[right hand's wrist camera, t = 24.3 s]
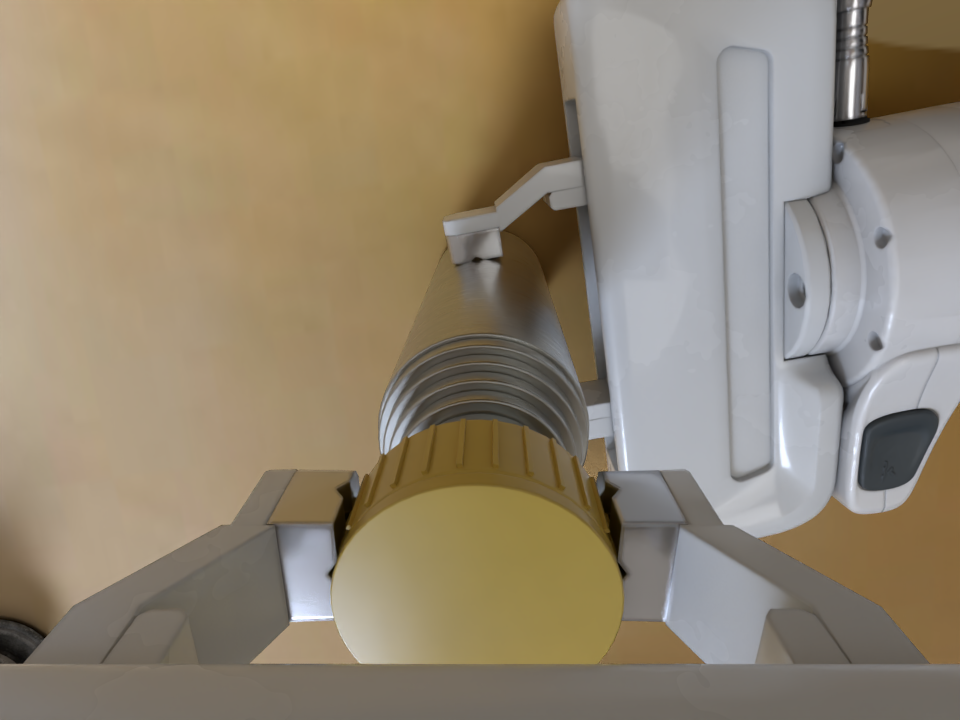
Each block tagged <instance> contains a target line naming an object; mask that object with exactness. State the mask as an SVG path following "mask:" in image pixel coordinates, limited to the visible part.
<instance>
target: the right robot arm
mask: <svg viewBox="0 0 960 720" xmlns="http://www.w3.org/2000/svg"><path fill="white" fill-rule="evenodd" d="M596 485H597V488H598V492H599V495H600V499H601V502H602V505H603V509H604V512H605V513H606V514H608V517H609V520H610V521H609V529H610V532H609V533H610V536H611V539H612V542H613V545H614V548H615V551H616V554H617V557H616V558H617V562H618V566H619V569H620V573H621V576H622V580H623V587H624V611H623V616H622V620H621V621H655V622H666V625H667V626H668V627H669V628H670V629H671V630H672V631H673V632H674V633H675V634H676V635H677V636H678V637H679V638H680V639H681V640H682V641H683V642H684V643H685V644H686V645H687V646H688V647H689V648H690V649H691V650H692V651H693V652H694V653H695V654H696V655H697V656H698V657H700V658H701V659H702V660H703V661H704V662H705V663H706V664H249V663H250V662H251V661H252V660H253V659H254V658H256V657H257V656H258V655H259V654H260V653H261V652H262V651H263V650H264V649H265V648H266V647H267V646H268V645H269V644H270V643H271V642H272V641H273V640H274V639H275V638H276V637H277V636H278V635H279V634H280V633H281V632H282V631H283V630H285V629H286V628H287V627H288V626H289V622H300V621H334V618H333V613H332V607H331V593H330V588H331V581H332V575H333V571H334V568H335V565H336V562H337V559H338V556H339V550H340V547H341V544H342V541H343V538H344V535H345V532H346V522H347V519H348V516H349V513H350V512H351V511H352V509H353V506H354V503H355V501H356V498H357V495H358V492H359V489H360V486H359V478H358V474H357V472H356V471H339V470H297V469H283V470H269V471H266V472H265V473H264V474H263V476H262V477H261V479H260V480H259V482H258V484H257V485H256V487H255V488H254V490H253V491H252V493H251V494H250V496H249V497H248V499H247V501H246V502H245V504H244V505H243V507H242V508H241V510H240V511H239V513H238V514H237V516H236V517H235V519H234V521H233V522H232V524H231V525H221V526H219V527H217V528H215V529H213V530H212V531H210V532H208V533H206V534H204V535H202V536H201V537H199V538H197V539H195V540H193V541H191V542H190V543H188V544H186V545H184V546H182V547H180V548H179V549H177V550H175V551H173V552H171V553H169V554H168V555H166V556H164V557H162V558H160V559H158V560H157V561H155V562H153V563H151V564H149V565H147V566H146V567H144V568H142V569H140V570H138V571H136V572H135V573H133V574H131V575H129V576H127V577H125V578H124V579H122V580H120V581H118V582H116V583H114V584H113V585H111V586H109V587H107V588H105V589H103V590H102V591H100V592H98V593H96V594H94V595H92V596H91V597H89V598H87V599H85V600H83V601H81V602H80V603H78V604H76V605H74V606H73V607H72V608H71V609H70V610H69V611H68V612H67V614H66V615H65V616H64V617H63V618H62V619H61V621H60V622H59V623H58V624H57V625H56V626H55V627H54V629H53V630H52V631H51V632H50V633H49V634H48V635H47V637H46V638H45V639H44V640H43V641H42V642H41V643H40V645H39V646H38V647H37V648H36V649H35V650H34V651H33V653H32V654H31V655H30V656H29V657H28V658H27V659H26V661H25V662H24V663H23V664H0V720H960V664H930V663H929V662H928V661H927V660H926V659H925V658H924V656H923V655H922V654H921V653H920V652H919V650H918V649H917V648H916V647H915V646H914V645H913V643H912V642H911V641H910V640H909V639H908V638H907V636H906V635H905V634H904V633H903V632H902V631H901V629H900V628H899V627H898V626H897V625H896V623H895V622H894V621H893V620H892V619H891V618H890V616H889V615H888V614H887V613H886V612H885V611H884V609H883V608H882V607H881V606H879V605H877V604H875V603H873V602H872V601H870V600H868V599H866V598H864V597H862V596H861V595H859V594H857V593H855V592H853V591H852V590H850V589H848V588H846V587H844V586H843V585H841V584H839V583H837V582H835V581H834V580H832V579H830V578H828V577H826V576H824V575H823V574H821V573H819V572H817V571H815V570H814V569H812V568H810V567H808V566H806V565H805V564H803V563H801V562H799V561H797V560H795V559H794V558H792V557H790V556H788V555H786V554H785V553H783V552H781V551H779V550H777V549H776V548H774V547H772V546H770V545H768V544H767V543H765V542H763V541H761V540H759V539H757V538H756V537H754V536H752V535H750V534H748V533H747V532H745V531H743V530H741V529H739V528H738V527H736V526H734V525H724V524H723V523H722V521H721V519H720V518H719V516H718V515H717V513H716V512H715V510H714V509H713V507H712V506H711V504H710V502H709V501H708V499H707V498H706V496H705V495H704V493H703V492H702V490H701V488H700V487H699V485H698V484H697V482H696V481H695V479H694V478H693V476H692V474H691V473H690V471H688V470H686V469H674V470H643V471H603V472H598V477H597V481H596Z"/></svg>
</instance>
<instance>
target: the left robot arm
mask: <svg viewBox="0 0 960 720" xmlns="http://www.w3.org/2000/svg"><path fill="white" fill-rule="evenodd" d="M871 5H872V0H560V2H559V4H558V6H557V7H556V10H555V13H554V30H555V39H556V47H557V55H558V64H559V72H560V80H561V88H562V96H563V105H564V113H565V121H566V129H567V137H568V145H569V154H570V157H569V158H564V159H559V160H554V161H549V162H544V163H540V164H537V165H536V166H534V167H533V168H532V169H531V170H530V171H529V172H528V173H526V174H525V175H524V176H523V177H522V178H521V179H520V180H518V181H517V182H516V183H515V184H514V185H513V186H512V187H511V188H509V189H508V190H507V191H506V192H505V193H504V194H503V195H501V196H500V197H499V198H498V199H497V200H496V201H495V202H494V205H495V206H490V207H485V208H480V209H474V210H469V211H464V212H459V213H454V214H451V215H448V216H445V217H444V218H443V226H444V232H445V235H446V241H447V245H448V250H449V254H450V259H451V263H452V264H463V263H467V262H471V261H472V260H473V259H474V258H475V257H479V258H481V259H483V260H485V259H491V258H496V257H501V256H503V252H502V245H501V239H500V232H499V229H500V231H502V230H504V229H505V228H506V227H507V226H508V225H510V224H511V223H512V222H513V221H514V220H516V219H517V218H518V217H519V216H520V215H522V214H523V213H524V212H525V211H526V210H528V209H529V208H530V207H531V206H532V205H533V204H535V203H536V202H537V201H538V200H539V199H541V198H542V197H543V201H544V202H545V203H546V204H547V205H548V206H549V207H550V208H552V209H553V210H561V209H567V208H573V207H576V211H577V219H578V227H579V235H580V244H581V252H582V260H583V268H584V276H585V285H586V293H587V301H588V309H589V317H590V326H591V334H592V342H593V350H594V358H595V366H596V375H597V380H593V381H588V382H582V383H580V386H581V389H582V392H583V395H584V398H585V402H586V406H587V410H588V415H589V439H588V440H590V439H596V438H602V437H604V440H605V448H606V456H607V465H608V471H643V470H674V469H686V470H688V471H690V473H691V474H692V476H693V478H694V479H695V481H696V482H697V484H698V485H699V487H700V488H701V490H702V492H703V493H704V495H705V496H706V498H707V499H708V501H709V502H710V504H711V506H712V507H713V509H714V510H715V512H716V513H717V515H718V516H719V518H720V519H721V521H722V523H723V524H724V525H734V526H736V527H738V528H739V529H741V530H743V531H745V532H747V533H748V534H750V535H752V536H754V537H756V538H761V537H766V536H770V535H774V534H778V533H781V532H784V531H788V530H790V529H793V528H796V527H798V526H800V525H802V524H804V523H806V522H807V521H809V520H811V519H812V518H814V517H815V516H816V515H817V514H818V513H819V512H820V511H821V510H822V509H823V508H824V507H825V506H826V504H827V503H828V501H829V500H830V498H831V496H833V497H834V498H835V499H837V500H838V501H839V502H840V503H842V504H843V505H844V506H845V507H846V508H848V509H849V510H850V511H852V512H854V513H858V514H873V513H880V512H886V511H889V510H892V509H895V508H897V507H899V506H900V505H902V504H903V503H904V502H905V501H906V500H907V498H908V497H909V496H910V494H911V492H912V491H913V489H914V487H915V485H916V483H917V481H918V478H919V476H920V474H921V472H922V470H923V468H924V465H925V463H926V461H927V459H928V457H929V455H930V453H931V451H932V449H933V447H934V445H935V443H936V441H937V439H938V438H939V436H940V434H941V432H942V430H943V428H944V427H945V425H946V423H947V421H948V420H949V418H950V416H951V415H952V413H953V412H954V410H955V408H956V407H957V405H958V404H959V402H960V101H959V102H954V103H949V104H943V105H937V106H932V107H927V108H922V109H917V110H912V111H907V112H901V113H896V114H891V115H886V116H881V117H875V118H867V107H868V87H869V56H868V55H867V54H868V53H869V50H868V46H867V43H868V37H867V36H866V34H867V26H866V24H867V23H868V11H869V7H871Z"/></svg>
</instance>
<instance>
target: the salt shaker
mask: <svg viewBox="0 0 960 720" xmlns="http://www.w3.org/2000/svg"><path fill="white" fill-rule="evenodd" d="M43 640H44V638H43V637H42V636H41V635H40V634H38V633H37V632H35V631H34V630H33V629H31V628H29V627H27V626H24V625H22V624H20V623H16V622H12V621H8V620H0V664H23V663H24V662H25V661H26V659H27V658H28V657H29V656H30V655H31V654H32V653H33V651H34V650H35V649H36V648H37V647H38V646H39V645H40V643H41V642H42V641H43Z"/></svg>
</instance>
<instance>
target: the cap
mask: <svg viewBox="0 0 960 720" xmlns="http://www.w3.org/2000/svg"><path fill="white" fill-rule="evenodd" d="M609 521H610V520H609V517H608V514H606V513H605V512H604V509H603V505H602V502H601V499H600V495H599V492H598V488H597V485H596V481H595V479H594V477H591V478H590V477H589V475H588V474H587V472H586V471H585V469H584V468H583V467H582V466H581V464H580V461H579V458H578V457H577V456H576V455H575V456H574V457H573V456H572V455H571V454H570V453H569V452H567V451H566V450H565V449H564V448H563V447H562V446H560V445H559V444H557V442H556V440H555V439H554V438H551V439H549V438H548V437H546V436H544V435H542V434H540V433H537V432H535V431H533V430H531V429H529V427H528V426H525V425H524V426H523V427H522V426H519V425H516V424H511V423H506V422H501V421H498V419H493V420H466V419H461V421H455V422H449V423H444V424H441V425H437V426H435V424H434V425H430V428H428V429H426V430H423V431H421V432H418V433H416V434H414V435H412V436H411V437H409V438H408V437H407V436H406V437H404V438H403V439H402V442H400V443H399V444H398V445H397V446H395V447H394V448H393V449H391V450H390V451H389V452H388V453H387V454H386V455H385V454H384V453H383V454H382V455H381V456H380V458H379V461H378V463H377V464H376V466H375V467H374V469H373V470H372V471H371V473H370V474H369V475H368V474H365V476H364V478H363V481H362V484H361V487H360V489H359V492H358V495H357V498H356V501H355V503H354V506H353V509H352V511H351V512H350V513H349V516H348V519H347V522H346V532H345V535H344V538H343V541H342V544H341V547H340V550H339V556H338V559H337V562H336V565H335V568H334V571H333V575H332V581H331V588H330V593H331V607H332V613H333V618H334V621H335V624H336V627H337V630H338V632H339V634H340V636H341V638H342V640H343V642H344V644H345V645H346V647H347V648H348V650H349V651H350V652H351V654H352V655H353V656H354V658H355V659H356V660H357V661H358V662H359V663H360V664H598V663H599V662H600V661H601V659H602V658H603V657H604V656H605V654H606V653H607V652H608V650H609V648H610V647H611V645H612V643H613V642H614V640H615V637H616V635H617V633H618V630H619V628H620V624H621V620H622V616H623V611H624V587H623V580H622V576H621V573H620V569H619V566H618V562H617V558H616V557H617V554H616V551H615V548H614V545H613V542H612V539H611V536H610V533H609V532H610V529H609Z"/></svg>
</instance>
